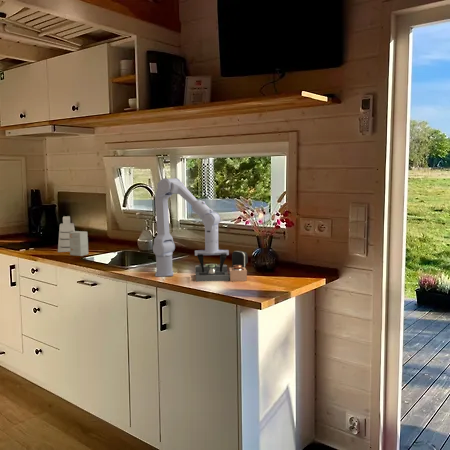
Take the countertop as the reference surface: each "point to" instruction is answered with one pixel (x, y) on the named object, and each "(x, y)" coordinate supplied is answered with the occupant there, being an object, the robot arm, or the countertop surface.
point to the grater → (65, 234)
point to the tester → (205, 277)
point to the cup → (238, 274)
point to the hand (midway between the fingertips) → (211, 271)
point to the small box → (78, 243)
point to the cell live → (211, 269)
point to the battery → (239, 258)
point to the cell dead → (237, 267)
